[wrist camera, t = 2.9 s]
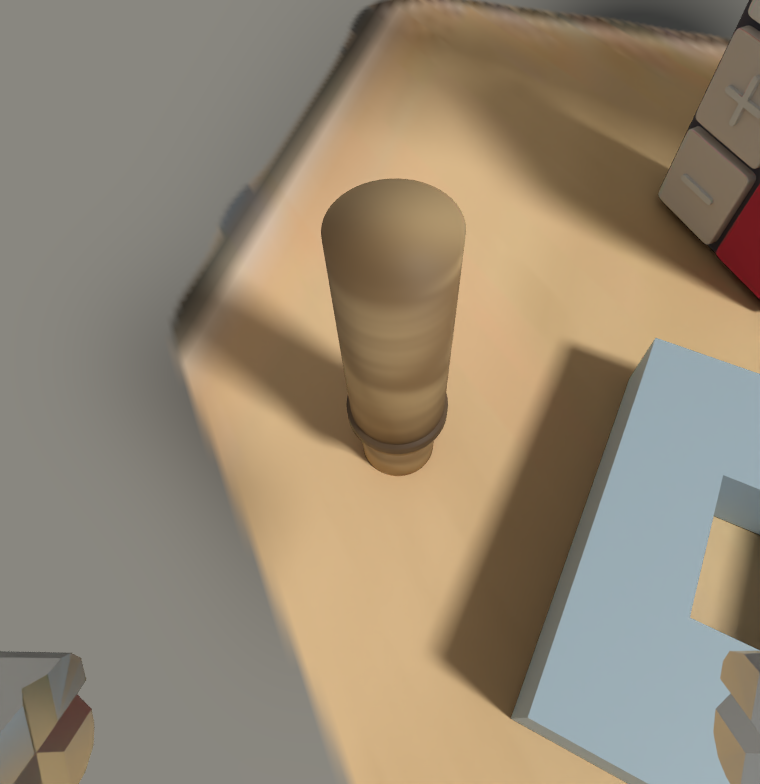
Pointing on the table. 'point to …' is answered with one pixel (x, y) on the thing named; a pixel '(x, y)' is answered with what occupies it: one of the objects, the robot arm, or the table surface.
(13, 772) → the robot arm
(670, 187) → the calculator
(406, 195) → the peg
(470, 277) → the table surface
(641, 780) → the seat board
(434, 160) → the table surface
